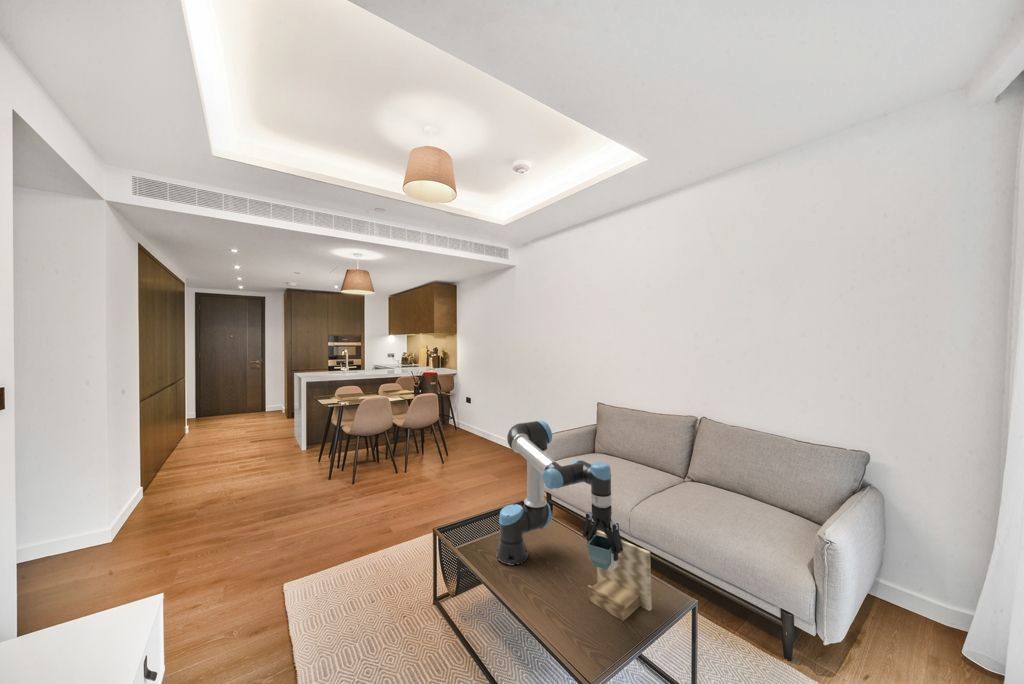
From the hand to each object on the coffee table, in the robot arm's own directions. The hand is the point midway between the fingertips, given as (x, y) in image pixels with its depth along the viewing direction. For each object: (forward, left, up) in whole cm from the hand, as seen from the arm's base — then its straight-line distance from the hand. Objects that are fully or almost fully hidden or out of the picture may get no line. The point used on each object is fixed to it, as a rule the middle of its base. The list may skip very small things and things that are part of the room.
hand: (602, 562), depth 142 cm
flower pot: (0, 0, -1) cm, 1 cm away
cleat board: (0, +7, -18) cm, 20 cm away
